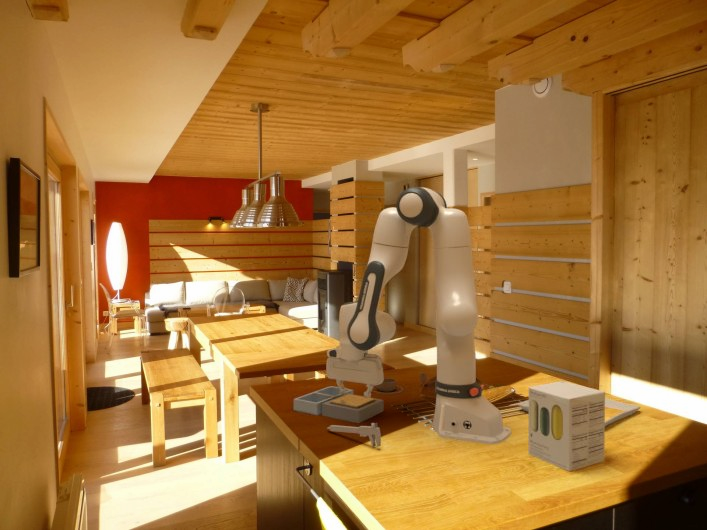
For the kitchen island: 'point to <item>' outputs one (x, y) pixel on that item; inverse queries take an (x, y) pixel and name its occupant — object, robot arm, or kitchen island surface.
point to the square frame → (352, 411)
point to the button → (352, 401)
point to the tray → (317, 400)
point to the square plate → (609, 403)
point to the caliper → (361, 432)
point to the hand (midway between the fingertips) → (355, 395)
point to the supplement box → (566, 424)
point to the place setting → (394, 385)
